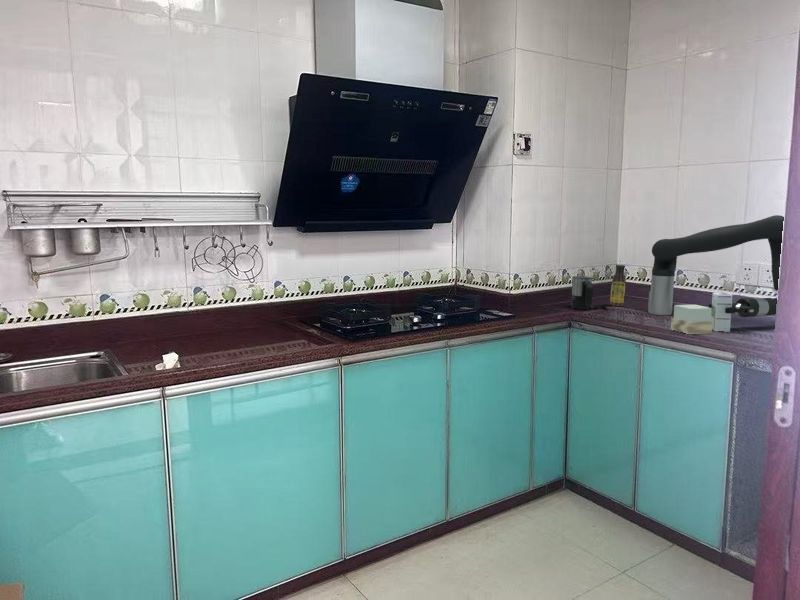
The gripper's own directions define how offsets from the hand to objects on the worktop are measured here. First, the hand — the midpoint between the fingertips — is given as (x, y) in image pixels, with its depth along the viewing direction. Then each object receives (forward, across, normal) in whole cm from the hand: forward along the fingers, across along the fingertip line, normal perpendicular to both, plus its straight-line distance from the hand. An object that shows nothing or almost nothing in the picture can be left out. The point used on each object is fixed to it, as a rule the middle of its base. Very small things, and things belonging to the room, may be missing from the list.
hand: (717, 308), depth 229 cm
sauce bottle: (+1, -62, +9) cm, 63 cm away
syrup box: (-2, 0, +9) cm, 9 cm away
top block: (+11, 0, +4) cm, 12 cm away
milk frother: (+19, -57, +9) cm, 61 cm away
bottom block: (+11, 0, +9) cm, 14 cm away
